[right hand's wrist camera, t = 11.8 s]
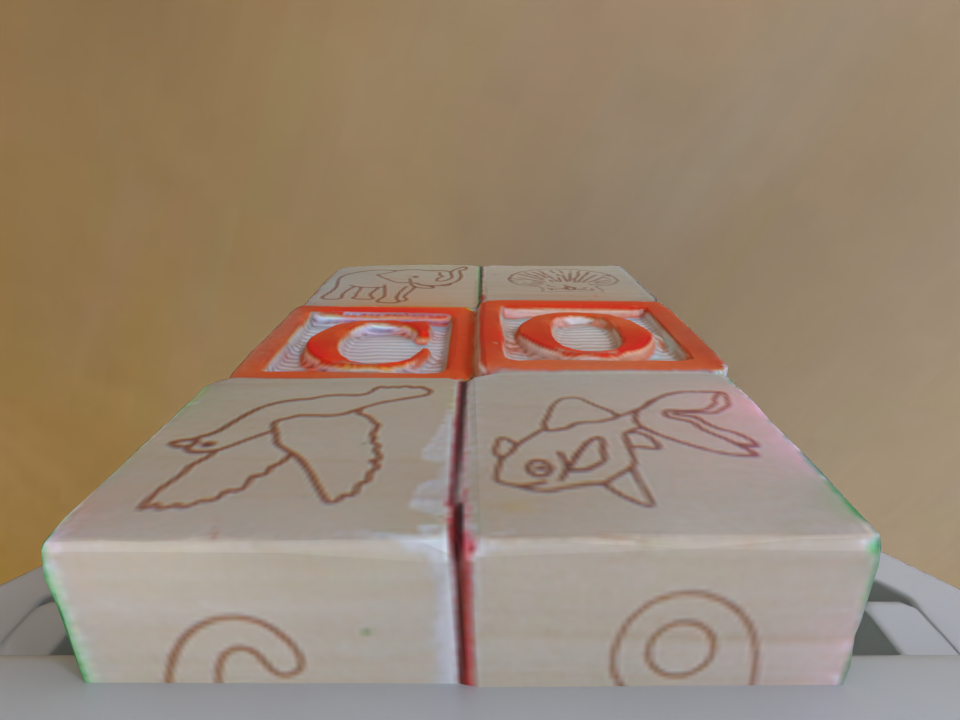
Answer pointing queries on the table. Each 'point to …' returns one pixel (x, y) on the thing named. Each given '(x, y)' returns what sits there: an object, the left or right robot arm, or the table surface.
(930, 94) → the table surface
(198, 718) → the right robot arm
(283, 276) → the table surface
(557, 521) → the stack of blocks
